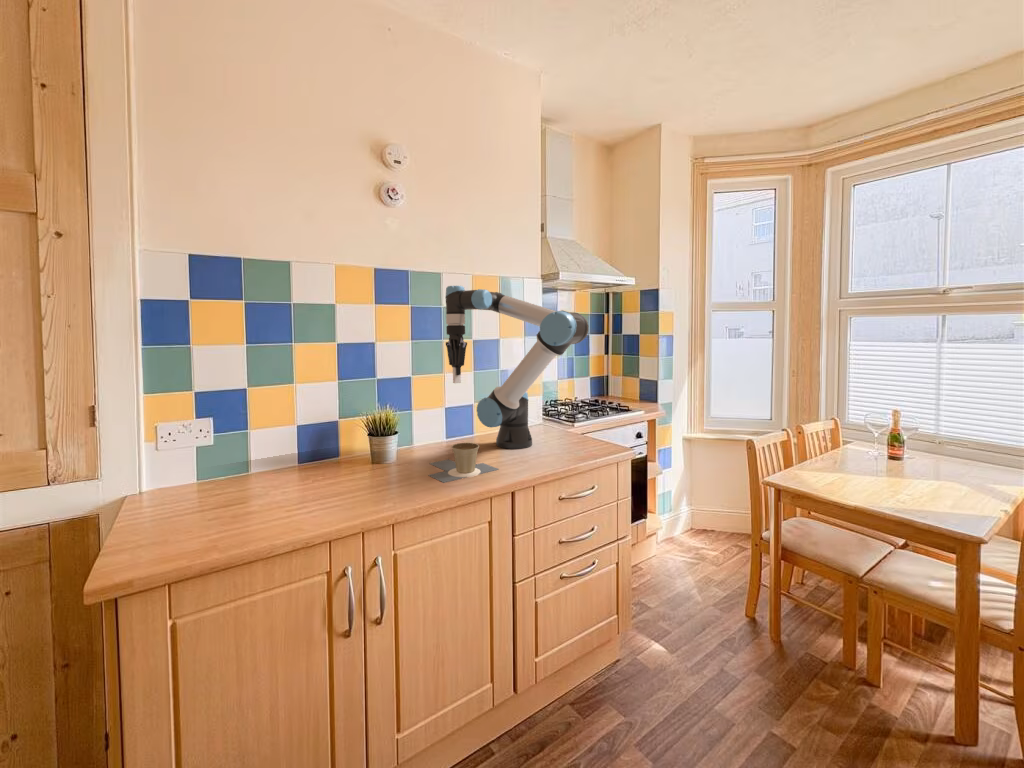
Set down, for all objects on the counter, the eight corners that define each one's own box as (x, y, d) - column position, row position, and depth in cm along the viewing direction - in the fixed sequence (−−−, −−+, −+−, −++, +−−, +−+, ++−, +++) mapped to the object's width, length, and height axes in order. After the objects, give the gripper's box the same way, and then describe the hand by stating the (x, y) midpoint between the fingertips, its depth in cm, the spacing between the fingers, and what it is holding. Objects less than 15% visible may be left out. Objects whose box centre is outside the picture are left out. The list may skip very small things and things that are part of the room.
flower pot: (479, 466, 163) (478, 442, 162) (480, 474, 153) (479, 449, 152) (452, 467, 162) (451, 443, 161) (451, 475, 152) (451, 450, 151)
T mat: (411, 467, 163) (411, 466, 163) (464, 456, 176) (464, 455, 176) (444, 483, 145) (444, 482, 145) (500, 470, 159) (500, 469, 159)
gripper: (472, 324, 184) (473, 383, 187) (455, 325, 194) (456, 381, 197) (456, 324, 180) (457, 385, 182) (439, 325, 190) (440, 382, 192)
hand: (456, 382), depth 190 cm, fingers closed
